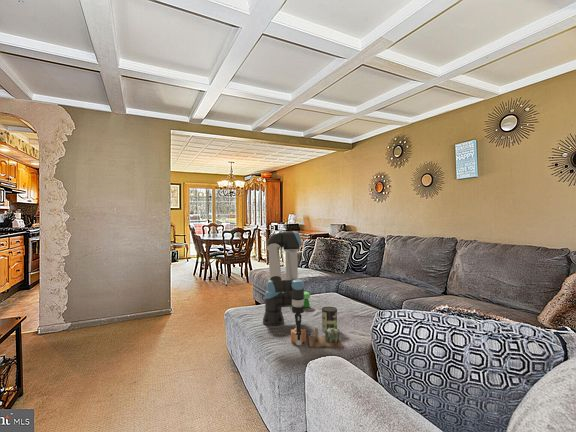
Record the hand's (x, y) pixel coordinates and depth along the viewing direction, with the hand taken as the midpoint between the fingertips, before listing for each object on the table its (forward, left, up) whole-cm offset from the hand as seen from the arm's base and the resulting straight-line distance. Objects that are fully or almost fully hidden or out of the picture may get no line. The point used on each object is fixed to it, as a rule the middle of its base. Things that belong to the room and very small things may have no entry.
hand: (298, 340), depth 185 cm
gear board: (+16, -3, 0) cm, 16 cm away
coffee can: (+22, +16, 0) cm, 27 cm away
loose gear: (0, 0, 0) cm, 0 cm away
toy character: (+4, +64, 0) cm, 64 cm away
